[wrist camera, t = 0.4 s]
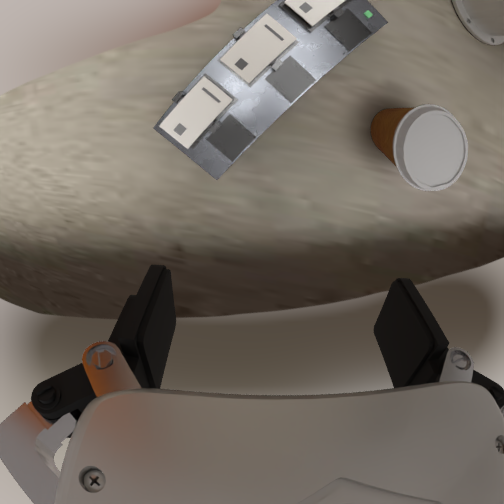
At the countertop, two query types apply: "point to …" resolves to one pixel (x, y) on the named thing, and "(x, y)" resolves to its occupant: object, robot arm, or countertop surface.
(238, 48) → the rocker
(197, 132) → the rocker
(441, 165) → the disposable coffee cup
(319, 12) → the rocker
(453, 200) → the countertop surface
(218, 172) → the power strip
